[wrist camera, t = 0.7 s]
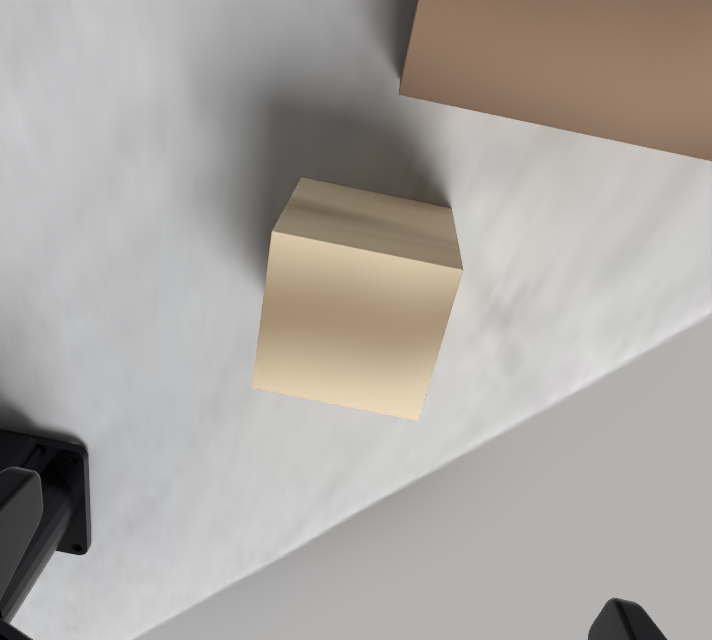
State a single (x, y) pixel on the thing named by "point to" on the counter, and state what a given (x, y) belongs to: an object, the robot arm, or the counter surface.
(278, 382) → the maple cube
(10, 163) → the counter surface
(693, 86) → the walnut block
